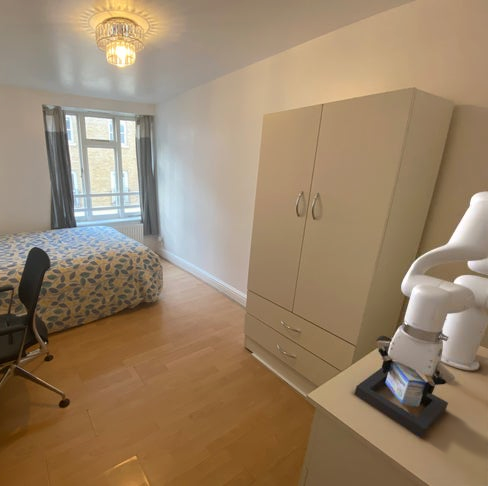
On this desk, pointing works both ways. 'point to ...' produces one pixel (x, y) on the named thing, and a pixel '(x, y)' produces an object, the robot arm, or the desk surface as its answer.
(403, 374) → the medicine box
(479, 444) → the desk surface
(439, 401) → the holder
